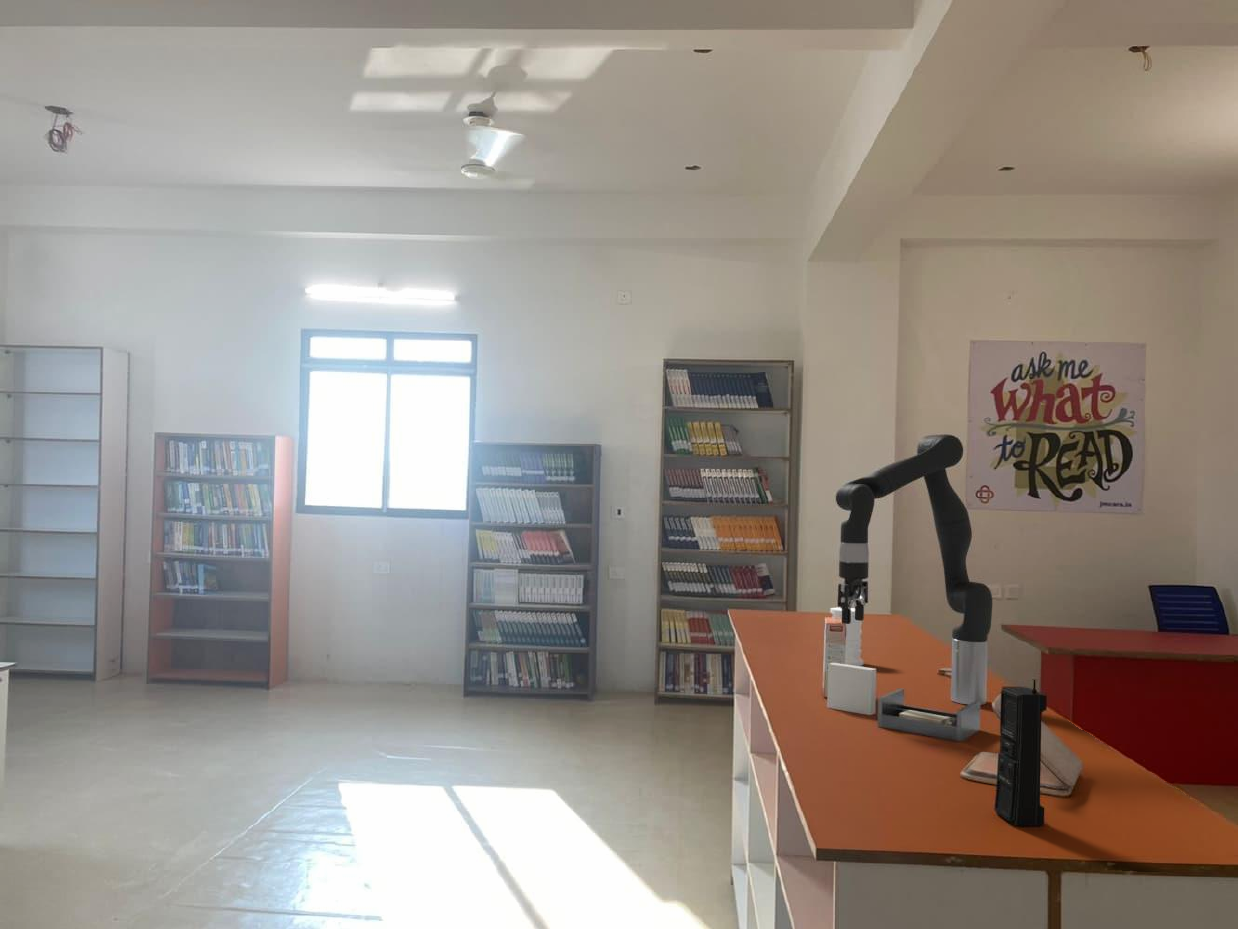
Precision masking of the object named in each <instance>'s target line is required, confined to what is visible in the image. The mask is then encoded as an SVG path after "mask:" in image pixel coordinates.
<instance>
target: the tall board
mask: <svg viewBox="0 0 1238 929" xmlns="http://www.w3.org/2000/svg"><path fill="white" fill-rule="evenodd" d="M876 694H877V668H873V667H866V666H853V665H847V664H840V663H830V664H828V695H827V699H826V700H827V701H826V702H827V703H826V707H827V708H828V709H831V710H832V709H833V710H838V711H839V710H840V711H845V712H849V713H855V714H856V713H857V714H862V715H868V716H872V715H874V714H876V699H877V697H876V696H877V695H876Z"/></svg>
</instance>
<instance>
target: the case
mask: <svg viewBox="0 0 1238 929" xmlns="http://www.w3.org/2000/svg"><path fill="white" fill-rule="evenodd" d="M991 706H992V711H993V712H994V714H995V716H996V718H998V719H999V720H1000V712H1001V693H1000V694H998V695H997V696H996V697H995V698H994V700H993V701H992V703H991ZM998 754H999V753H997V752H990V751H980V752H979V753H977V754H975V756H974V757H973V758H972V760H970V762H969V763H968V764H967V765H966V766H965V767H964V768H963V769H962V770H961V771H960V773H959V774H960V777H962V778H963V779H964V780H969V781H973V782H978V783H983V784H988V785H993V786H996V785H997V768H998ZM1083 767H1084V766H1083V762H1082V760H1081V759H1080V758H1079V757H1078V756H1077V754H1076V753H1075V752H1074V751H1073V750H1071V749H1070V748H1069V747H1068V745H1067V744H1066V743H1064V742H1063V741H1062V740H1061V738H1059V737H1058V736H1057V735H1056V734H1055V733H1054V732H1053V731H1052V730H1051V729H1050V727H1048V726H1047V725H1046V724H1045V723H1044V722H1043V721H1042V720H1041V768H1040V795H1041V794H1042V795H1047V796H1052V797H1060V798H1061V797H1062V798H1063V797H1070V796H1071V794H1072V791H1073V789H1074V787H1075V785H1076V783H1077V780H1078V778H1079V775H1080V773H1081V771H1082V769H1083Z"/></svg>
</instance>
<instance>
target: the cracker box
mask: <svg viewBox="0 0 1238 929" xmlns="http://www.w3.org/2000/svg"><path fill="white" fill-rule="evenodd" d="M823 636H824V637H823V640H824V641H823V663H822V664H823V665H822V666H823V667H822V668H823V669H822V693H823V694H822V695H823V698H825V699H826V698H827V695H828V664H830V663H840V664H845V652H846V624H843V623H842V618H835V617H832V616H831V617H830V616H829V617H828V616H827V617H824V634H823Z"/></svg>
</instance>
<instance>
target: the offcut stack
mask: <svg viewBox="0 0 1238 929" xmlns="http://www.w3.org/2000/svg"><path fill="white" fill-rule="evenodd" d="M899 717H902V718H908V719H914V720H919V721H925V722H931V723H937V724H942V725H948V726H952V722H950V717H946V716H940V715H935V714H929V713H924V712H919V711H913V710H907V711H904V712H902V713H899Z"/></svg>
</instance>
